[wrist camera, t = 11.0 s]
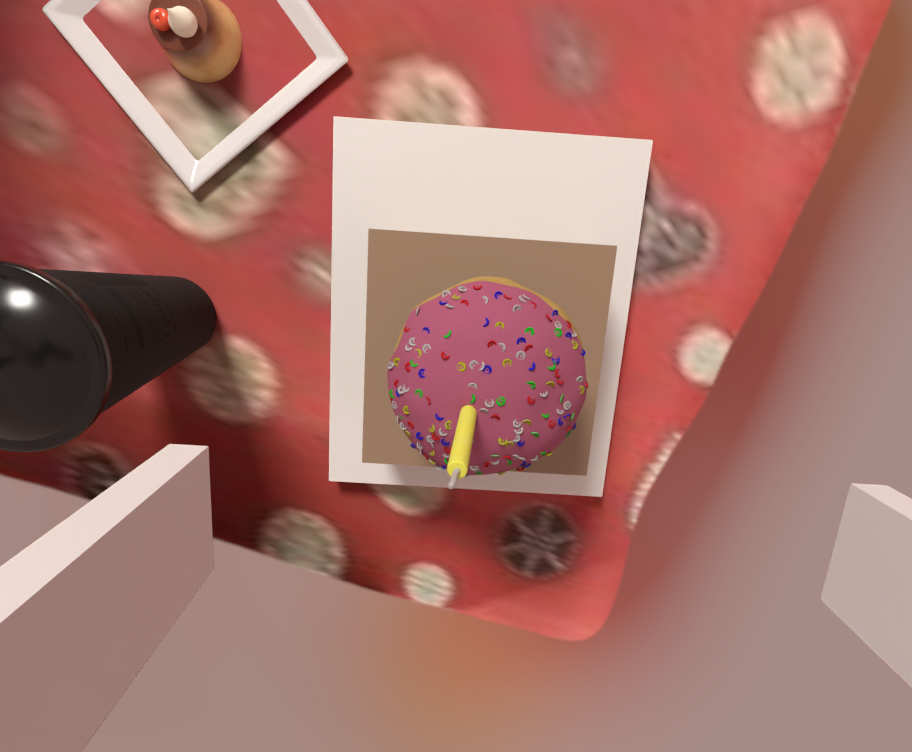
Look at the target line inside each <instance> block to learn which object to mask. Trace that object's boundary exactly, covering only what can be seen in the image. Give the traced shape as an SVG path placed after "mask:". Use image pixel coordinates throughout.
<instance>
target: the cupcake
mask: <svg viewBox="0 0 912 752" xmlns="http://www.w3.org/2000/svg"><path fill="white" fill-rule="evenodd" d="M585 354H586V352H585V350H584V349H583V345H582V342H581V339H580V336H579V333H578V331H577V329H576V328H575V326H574V324H573V323H572V321H571V320H570V318H569V317H568V315H567V314H566V313H565V312H564V311H563V310H562V309H561V308H560V307H559V306H558V305H557V304H555V303H554V302H553V301H551V300H550V299H548V298H546V297H544V296H543V295H541V294H539V293H537V292H535V291H533V290H531V289H528V288H526V287H524V286H522V285H520V284H518V283H516V282H514V281H512V280H510V279H507V278H502V277H494V276H481V277H475V278H471V279H468V280H465V281H463V282H460V283H458V284H456V285H454V286H452V287H450V288H448V289H446V290H444V291H442V292H440V293H438V294H436V295H434V296H432V297H430V298H428V299H427V300H425V301H423V302H421V303H420V304H418V305H417V306H416V307H415V308H414V309H413V310H412V311H411V313H410V314H409V316H408V318H407V320H406V322H405V324H404V326H403V329H402V331H401V333H400V335H399V337H398V340H397V343H396V346H395V349H394V352H393V356H392V358H391V360H390V362H389V364H388V373H387V380H388V390H389V397H390V401H391V405H392V408H393V411H394V413H395V415H396V417H397V423H398V422H399V424H400V428H401V429H402V430H403V431H404V433H405V434H406V436H407V437H408V438H409V440H410V441H411V442H412V444H411V445H410V446H411V447H412V448H414V449H417V450H418V451H419V452H420V455H421V456H422V455H423V456H424V457H426V460H429V461H430V462H431V463H432V464H436V469H437V470H439V471H443V469H447V472H448V474H449V475H450V476H451V479H450V482H449V484H448V488H449V489H453V488H454V487H455V485H456V482H457V479H461V478H463V477H468V476H469V475H487V474H494V473H498V475H503V474H504V473H505V472H506V471H511V470H514V469H516V470H517V471H523V470H524V468H526V467H529V466H530V465H531V463H533V462H538V459H540V458H542V457H543V456H550V455H552V452H551V451H552V450H554V449H555V448H557V447H558V446H559V445H560V444H561V443H562V442H563V440H564V439H565V438H566V437H567V436H569V435H570V433H571V430H573V429H575V427H576V423H575V422H576V420H577V417H578V415H579V413H580V411H581V409H582V407H583V404H584V401H585V398H586V392H587V388H588V383H587V381H586V369H585V359H584V355H585ZM573 426H574V427H573ZM413 446H414V447H413ZM438 466H439V467H438ZM440 467H441V468H440ZM439 468H440V469H439ZM518 468H519V469H518ZM520 468H521V469H520Z"/></svg>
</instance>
